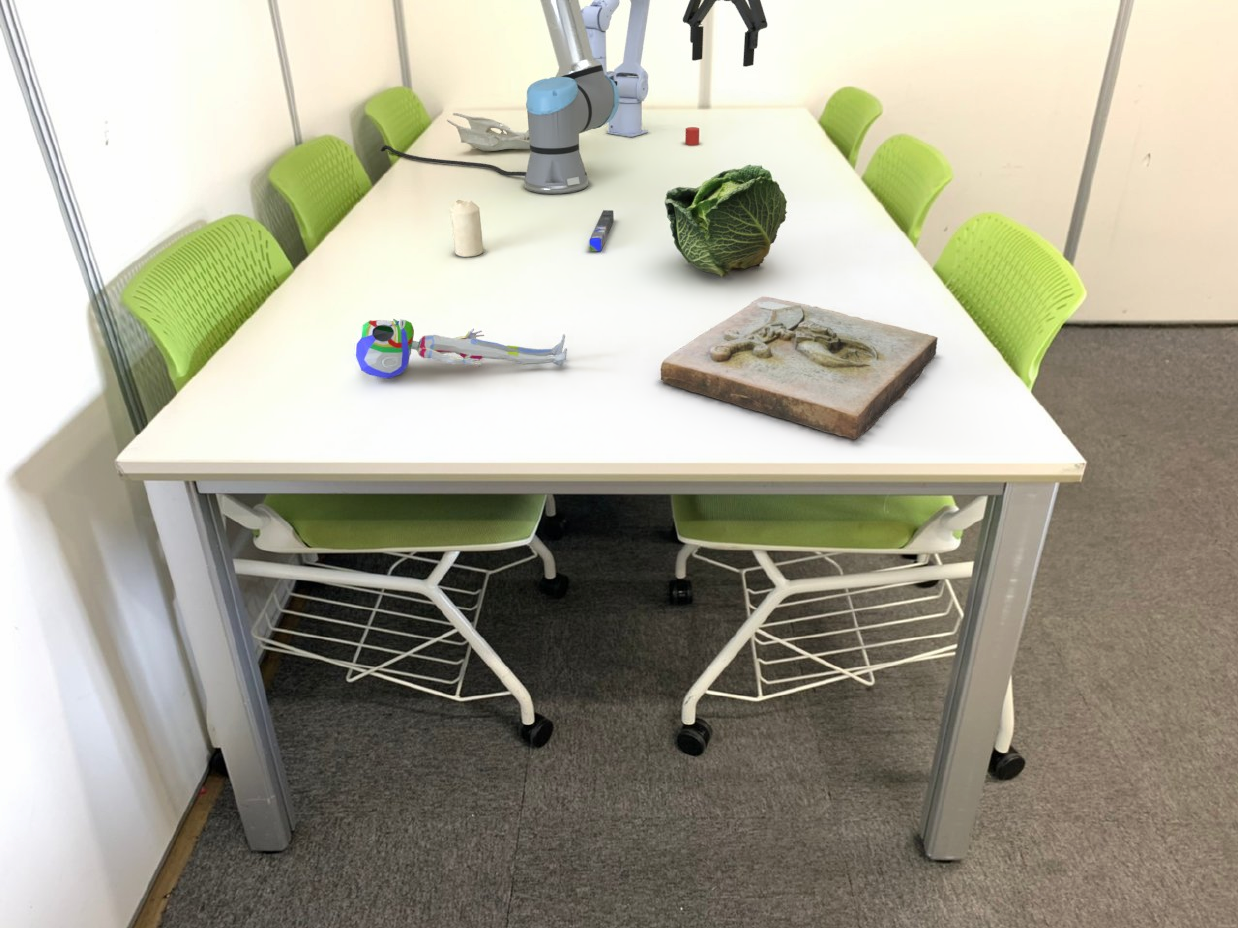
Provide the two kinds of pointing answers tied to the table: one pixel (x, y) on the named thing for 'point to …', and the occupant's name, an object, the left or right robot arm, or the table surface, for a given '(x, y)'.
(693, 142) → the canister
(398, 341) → the toy
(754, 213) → the vegetable
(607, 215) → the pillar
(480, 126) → the anatomical model
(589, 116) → the left robot arm
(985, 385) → the table surface
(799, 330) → the plaque
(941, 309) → the table surface
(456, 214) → the candle
